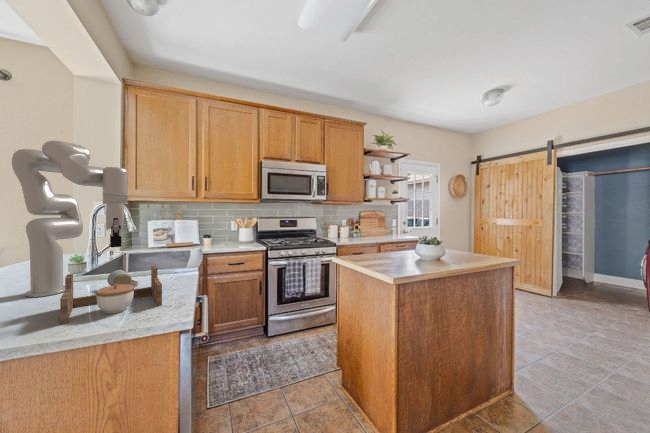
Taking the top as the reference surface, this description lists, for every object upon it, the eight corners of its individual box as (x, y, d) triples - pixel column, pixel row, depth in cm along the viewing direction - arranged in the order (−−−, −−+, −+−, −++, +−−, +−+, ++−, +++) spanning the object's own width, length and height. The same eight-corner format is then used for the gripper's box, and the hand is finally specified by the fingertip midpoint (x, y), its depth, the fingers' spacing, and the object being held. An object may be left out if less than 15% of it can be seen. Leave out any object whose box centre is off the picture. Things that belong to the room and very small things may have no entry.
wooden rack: (67, 307, 95) (67, 274, 95) (155, 293, 112) (155, 265, 112) (60, 324, 81) (60, 286, 81) (161, 305, 99) (161, 273, 98)
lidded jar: (113, 317, 87) (113, 289, 87) (87, 314, 89) (87, 287, 89) (141, 306, 98) (141, 281, 97) (118, 303, 100) (118, 279, 99)
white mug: (113, 291, 113) (113, 274, 113) (106, 288, 118) (107, 271, 118) (141, 286, 122) (141, 270, 122) (134, 283, 127) (134, 267, 126)
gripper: (102, 200, 104) (103, 243, 104) (102, 199, 91) (102, 249, 91) (126, 200, 109) (126, 242, 109) (129, 200, 95) (129, 247, 96)
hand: (115, 245), depth 100 cm, fingers open, 8 cm apart
